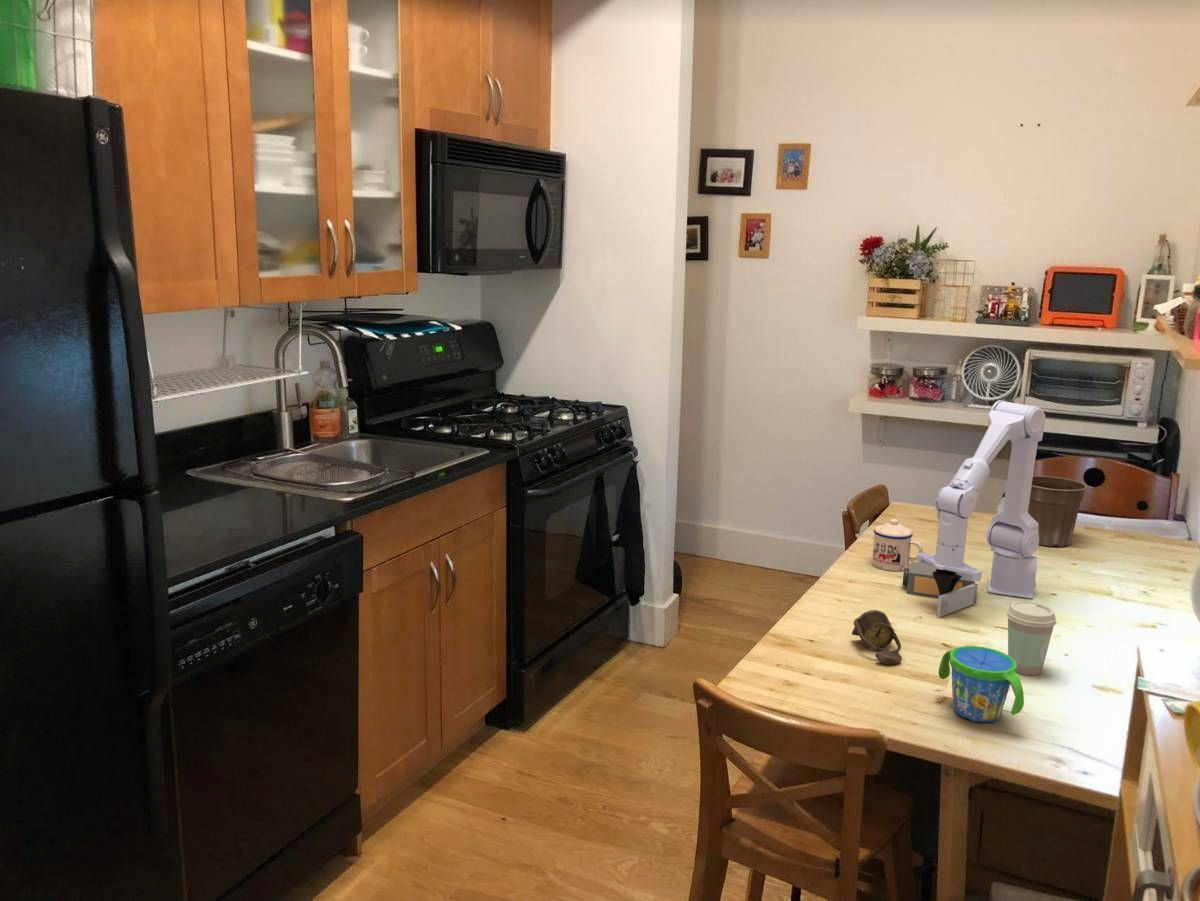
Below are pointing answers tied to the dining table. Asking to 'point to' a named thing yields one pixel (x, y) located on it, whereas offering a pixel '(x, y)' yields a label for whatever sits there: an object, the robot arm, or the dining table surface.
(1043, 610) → the coffee cup
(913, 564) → the camera body
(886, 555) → the teacup with lid
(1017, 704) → the snack cup
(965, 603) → the grey long bar
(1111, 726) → the dining table surface
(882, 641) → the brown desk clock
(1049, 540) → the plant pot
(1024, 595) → the robot arm
